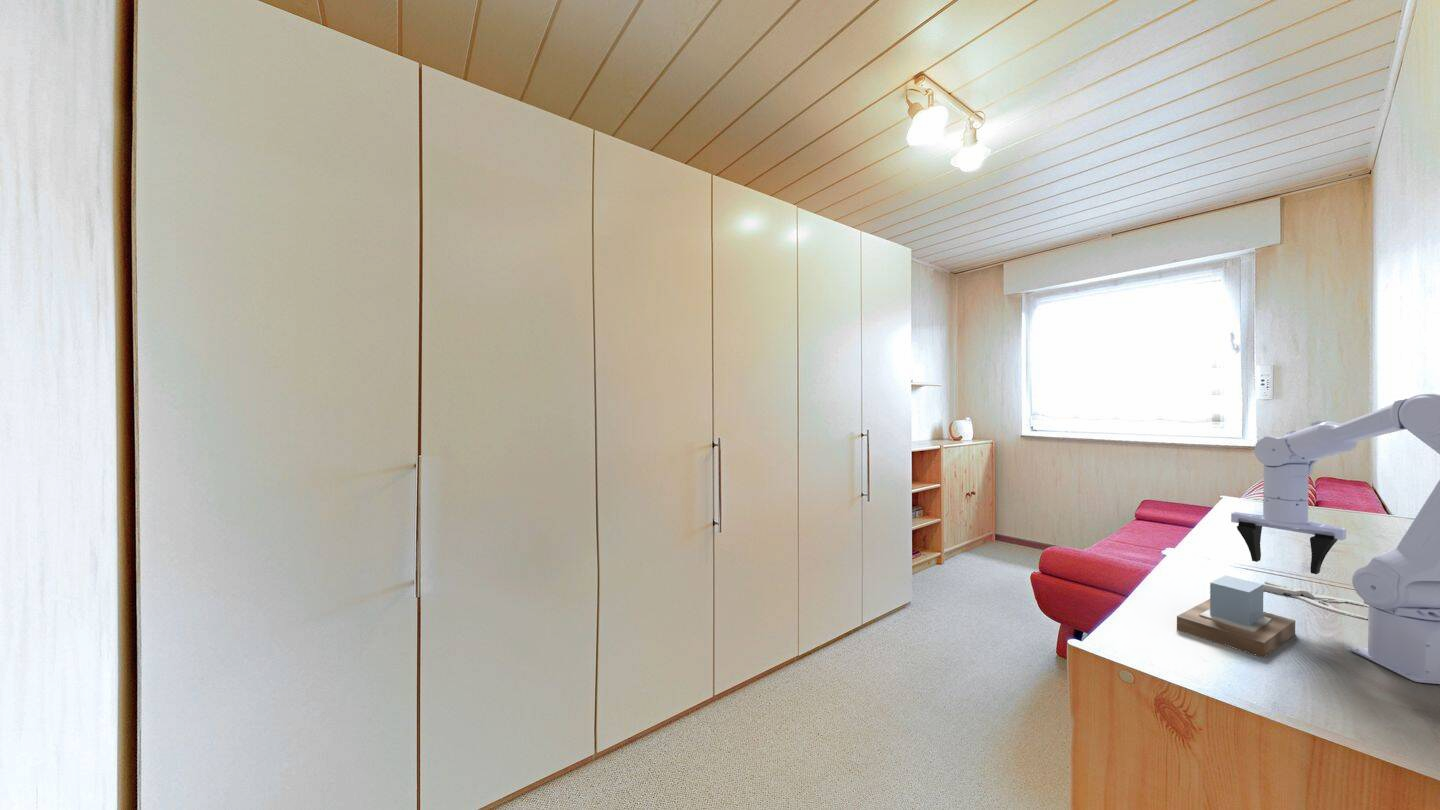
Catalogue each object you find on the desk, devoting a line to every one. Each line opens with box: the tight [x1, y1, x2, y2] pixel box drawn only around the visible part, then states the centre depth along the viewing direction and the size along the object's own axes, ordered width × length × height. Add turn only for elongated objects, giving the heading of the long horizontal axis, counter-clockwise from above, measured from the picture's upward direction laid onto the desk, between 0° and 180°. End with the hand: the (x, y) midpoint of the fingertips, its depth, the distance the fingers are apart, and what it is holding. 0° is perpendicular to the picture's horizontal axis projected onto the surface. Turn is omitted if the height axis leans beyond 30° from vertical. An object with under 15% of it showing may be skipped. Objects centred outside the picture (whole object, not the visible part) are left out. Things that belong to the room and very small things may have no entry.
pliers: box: [1262, 581, 1368, 618], centre depth 100 cm, size 10×2×15 cm
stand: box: [1176, 598, 1296, 658], centre depth 88 cm, size 16×11×3 cm
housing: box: [1209, 574, 1264, 626], centre depth 88 cm, size 8×5×6 cm, turn 118°
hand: (1284, 566), depth 94 cm, fingers open, 7 cm apart
